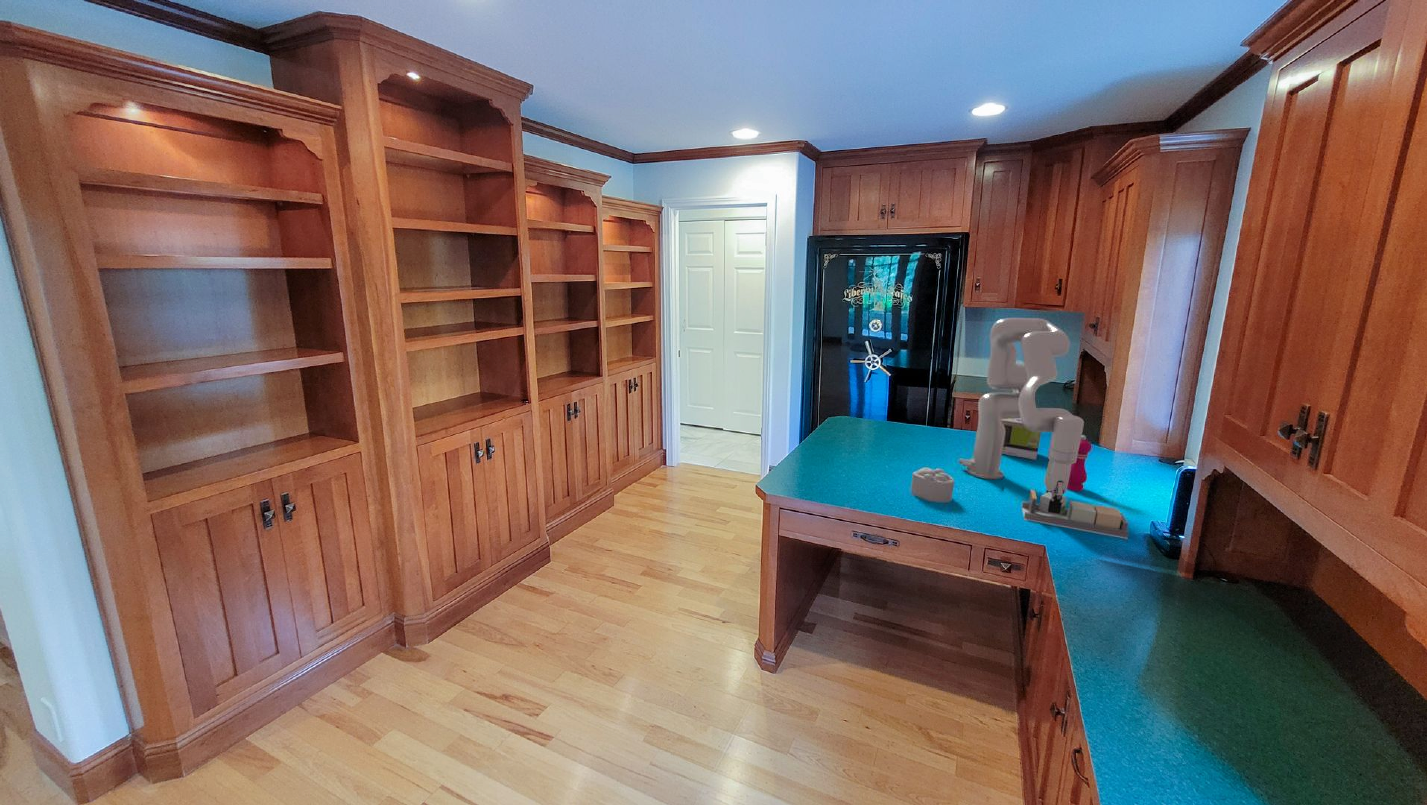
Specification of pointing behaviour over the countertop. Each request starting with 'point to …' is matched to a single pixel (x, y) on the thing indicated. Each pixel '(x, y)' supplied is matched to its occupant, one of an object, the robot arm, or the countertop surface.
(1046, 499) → the small box
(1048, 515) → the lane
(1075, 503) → the sage box
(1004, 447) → the tea box
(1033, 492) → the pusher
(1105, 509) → the kraft box
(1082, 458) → the pepper mill
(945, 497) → the lumpy-topped squat cylinder
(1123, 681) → the countertop surface
